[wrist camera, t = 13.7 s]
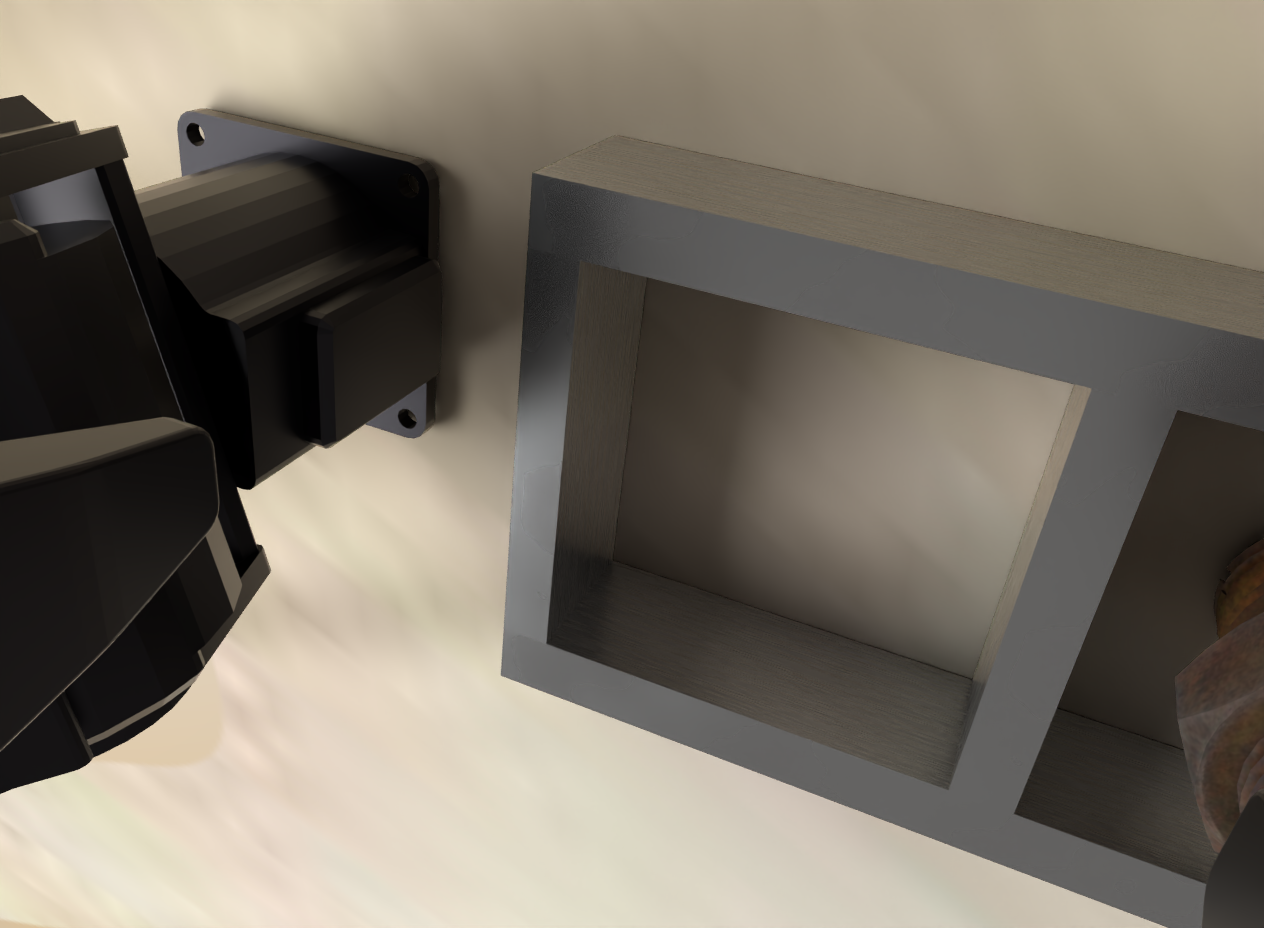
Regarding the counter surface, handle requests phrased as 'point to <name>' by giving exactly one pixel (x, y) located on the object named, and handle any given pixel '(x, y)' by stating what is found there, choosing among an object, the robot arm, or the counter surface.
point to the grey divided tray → (819, 660)
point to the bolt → (1227, 701)
